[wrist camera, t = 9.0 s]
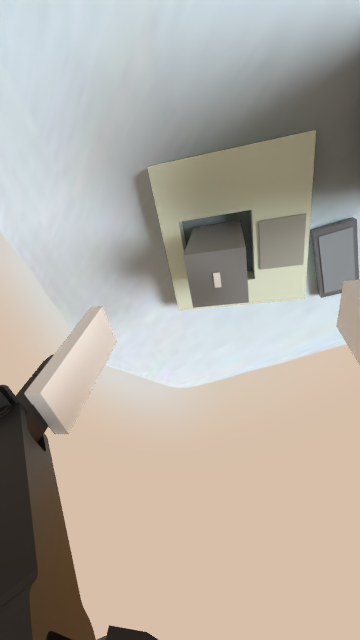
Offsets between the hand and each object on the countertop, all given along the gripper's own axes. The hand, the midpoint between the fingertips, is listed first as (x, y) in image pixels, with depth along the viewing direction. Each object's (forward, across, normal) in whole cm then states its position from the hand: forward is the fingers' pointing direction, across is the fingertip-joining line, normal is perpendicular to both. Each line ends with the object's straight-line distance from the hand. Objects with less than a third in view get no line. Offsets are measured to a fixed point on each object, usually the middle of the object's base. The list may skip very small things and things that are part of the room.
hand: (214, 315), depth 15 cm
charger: (+14, 0, -1) cm, 14 cm away
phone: (+14, +11, -4) cm, 18 cm away
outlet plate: (+14, +1, 0) cm, 14 cm away
